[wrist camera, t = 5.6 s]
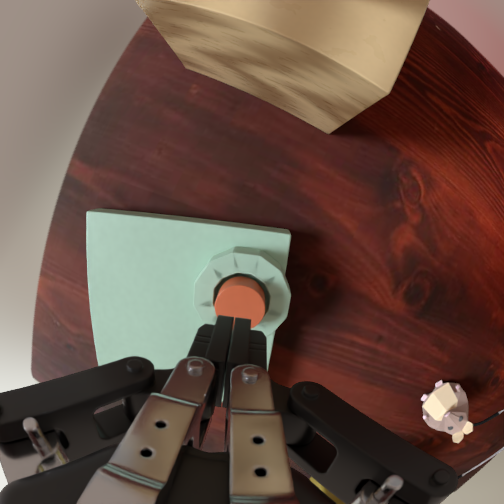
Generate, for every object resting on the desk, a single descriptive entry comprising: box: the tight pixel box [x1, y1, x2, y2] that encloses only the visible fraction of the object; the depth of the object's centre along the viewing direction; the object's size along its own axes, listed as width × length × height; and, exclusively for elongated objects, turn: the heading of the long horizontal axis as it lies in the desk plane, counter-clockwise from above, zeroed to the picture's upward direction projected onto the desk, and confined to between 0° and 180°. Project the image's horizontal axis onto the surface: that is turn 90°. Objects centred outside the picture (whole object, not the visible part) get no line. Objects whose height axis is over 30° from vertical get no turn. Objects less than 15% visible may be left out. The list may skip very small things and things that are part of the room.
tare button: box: [215, 276, 265, 329], centre depth 17 cm, size 3×3×2 cm
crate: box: [135, 0, 430, 134], centre depth 11 cm, size 11×11×10 cm
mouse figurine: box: [421, 380, 473, 443], centre depth 20 cm, size 5×8×7 cm, turn 50°
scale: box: [86, 208, 291, 402], centre depth 19 cm, size 14×14×4 cm
